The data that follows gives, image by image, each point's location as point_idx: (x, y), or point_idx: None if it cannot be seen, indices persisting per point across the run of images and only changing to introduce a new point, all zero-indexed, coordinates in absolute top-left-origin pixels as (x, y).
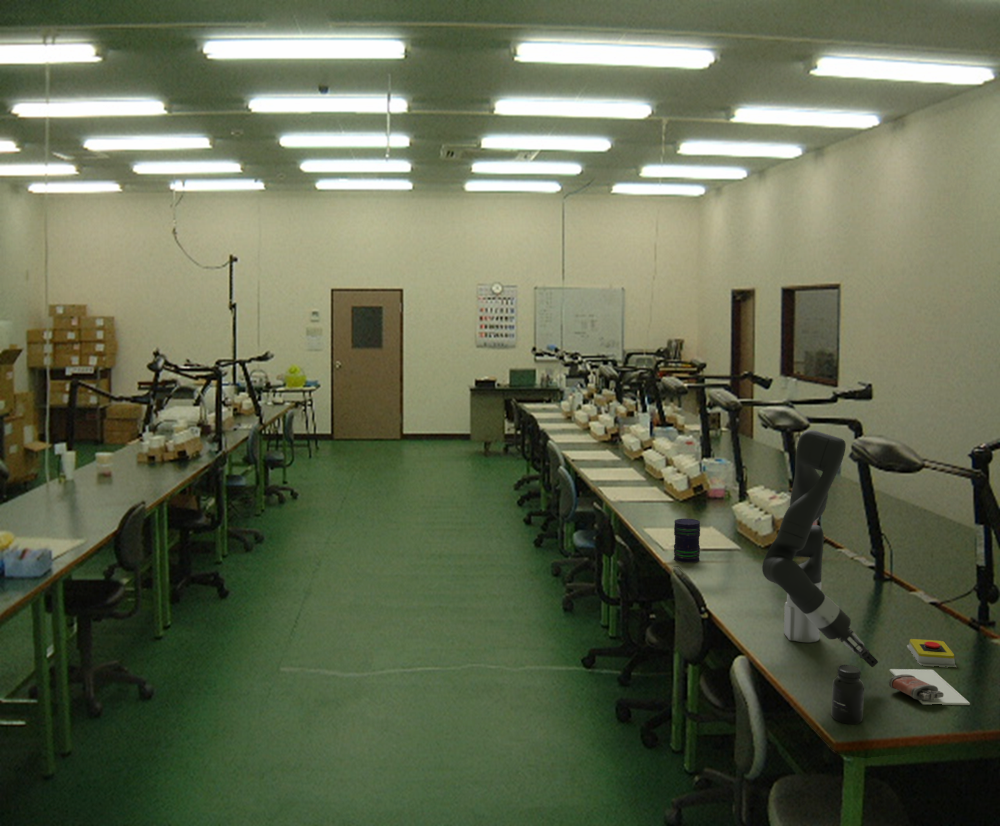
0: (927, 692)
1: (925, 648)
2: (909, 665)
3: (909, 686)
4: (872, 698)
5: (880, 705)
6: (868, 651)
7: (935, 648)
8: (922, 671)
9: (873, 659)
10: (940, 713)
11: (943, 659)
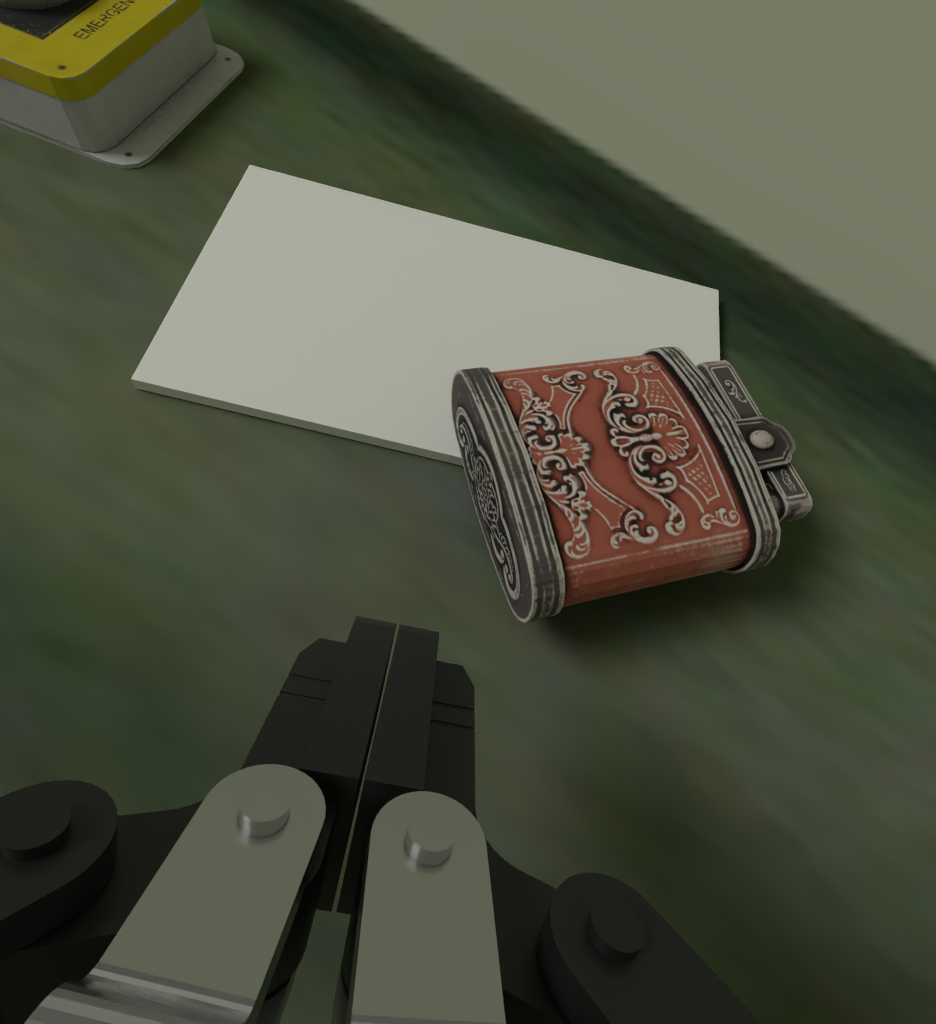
0: (778, 462)
1: (7, 8)
2: (106, 221)
3: (713, 536)
4: (613, 861)
5: (749, 868)
6: (713, 985)
7: None
8: (256, 225)
9: (473, 721)
10: (833, 504)
11: (175, 42)
